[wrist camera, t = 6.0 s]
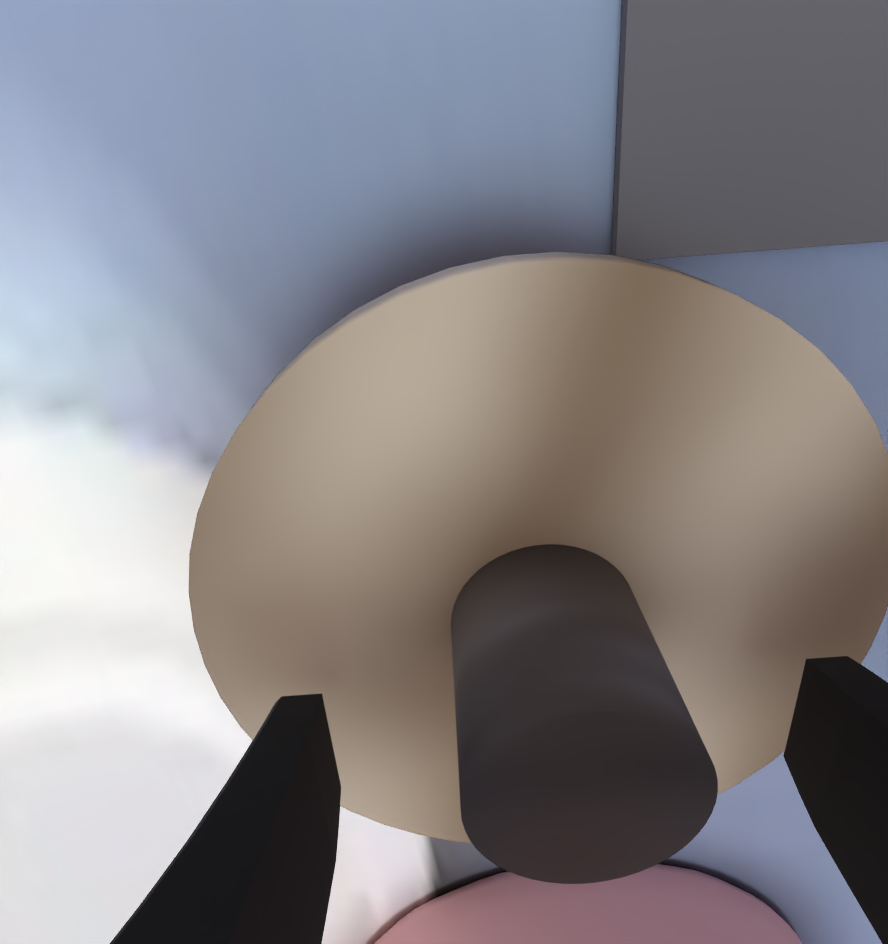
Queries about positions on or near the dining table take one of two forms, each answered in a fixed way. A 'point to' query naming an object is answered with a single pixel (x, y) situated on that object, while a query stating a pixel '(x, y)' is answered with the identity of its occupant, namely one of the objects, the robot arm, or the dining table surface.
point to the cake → (595, 913)
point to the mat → (750, 126)
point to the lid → (545, 553)
